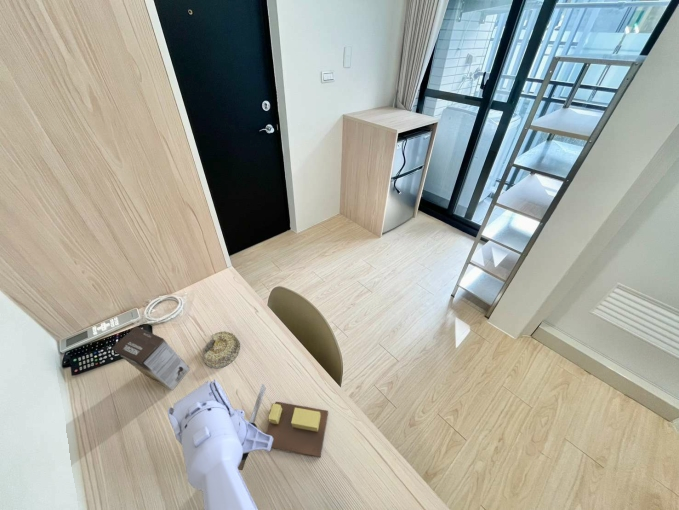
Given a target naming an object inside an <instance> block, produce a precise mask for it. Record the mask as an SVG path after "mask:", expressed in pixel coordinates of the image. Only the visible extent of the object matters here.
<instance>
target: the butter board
mask: <svg viewBox="0 0 679 510" xmlns="http://www.w3.org/2000/svg"><path fill="white" fill-rule="evenodd" d="M274 404H278V405H281V408H282V412H281V416H280V419H279V423H278V424H274V423H271V422H270V421H269V423H268V425H267V430H266V433H265V434H267V435H270V436H272V437H273V442H272V446H271V449H275V450H280V451H285V452H290V453H295V454H300V455H305V456H309V457H310V456H311V457H316V458H321V457H322V452H323V445H324V440H325V435H326V428H327V423H328V416H329V410H326V409H320V408H314V407H309V406H303V405H297V404H292V403H288V402H287V403H286V402H281V401H275V403H274ZM295 408H300V409H306V410H312V411H317V412H320V415H321V417H320V423H319V428H318V432H317V431H311V430H306V429H301V428H295V427H293V426H292V424H291V421H292V417H293V413H294V409H295Z"/></svg>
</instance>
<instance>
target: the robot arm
mask: <svg viewBox="0 0 679 510" xmlns="http://www.w3.org/2000/svg"><path fill="white" fill-rule="evenodd" d="M172 406H173V407H168V409H167V417H168V420H169V423H170V426H171V428H172V431H173V433H174V436H175V439H176V440H177V441H178V443H179V444H180V445H181V448H182V454H183V459H184V466H185V471H186V477H187V482H188V483H189V486H191V487H192V488H193V489H195V490H197V491H198V490H199V491H201V492H202V501H203V510H259V509H258V507H257V504H256V503H255V500H254V498H253V497H252V494H251V493H250V490H249V489H248V487H247V483H246V482H245V480H244V478H243V476H242V473H241V472H240V470H238V466H239V464H240V462H241V460H246V461H247V459H248V457H249V455H250V453H253V452H257V451H264V452H268V453H270V452H271V449H272V448H271V446H272V442H273V437H272V436H270V435H267V434H266V433H264V432H263V431H261V430H260V429H258V426H257V424H256V423H255V422H254V423H251V422H249V421H248V420H246V419H245V411H244V410H243V409H239V408H235V409H234V408H233V406H232V405H231V401H230V399H229V398H228V396H227V393H226V392H225V391H224V389H223V387H222V385H221V384H220V383H219V382H218V381H217V380H216V379H215V378H214V379H213V380H212V381H209V380H207V381H205V382H204V383H203V384H201V385H199V386H198V387H197V388H195V389H194V390H192V391H191V392H189V393H188V394H187V395H185V396H183V397H182V398H181V399H179V400H177V401H175V403H173V405H172Z"/></svg>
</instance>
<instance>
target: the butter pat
mask: <svg viewBox="0 0 679 510" xmlns="http://www.w3.org/2000/svg"><path fill="white" fill-rule="evenodd" d="M281 412H282V408H281V405H278V404H275V403H272V406H271V409H270V412H269V415H268V420H269V422H271V423H274V424H278V423H279V419H280V416H281Z"/></svg>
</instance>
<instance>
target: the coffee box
mask: <svg viewBox="0 0 679 510" xmlns="http://www.w3.org/2000/svg"><path fill="white" fill-rule="evenodd" d="M111 350H112V351H114V352H115V353H116V354H117V355H119V357H121V358H122V359H123V360H125V361H126V362H128V363H129V364H130V365H131V366H132V367H134V368H135V369H136V370H138V371H139V372H140V373H141V374H143V375H144V376H145V377H146V378H148V379H150V380H151V381H154V382H156V383H157V384H159V385H161V386H163V387H165V388H167V389H169V390H170V391H173V390H174V389H175V388H176V387H177V386H178V385H179V383H180V382H181V381H182V380H183V378H184V377H185V376H186V375H187V374H188V373H189V371H190V370H191V368H190V366H188V364H187V363H186V362H185V361H184V360H183V359H182V358H181V356H180V355H179V354H178V353H177V352H176V351H175V349H173V347H172V346H171V344H169V343H168V342H167V341H166V339H165V338H163V337H161V336H159V335H156V334H154V333H152V332H151V331H148V330H145V329H143V328H141V327H139V326H135V327H134V328H132V329H131V330H130V331H129V332H128V333H127V334H125V336H123V337H122V338H121V339H119V341H118V342H117V343H115V344H114V346H113V347H112V348H111Z"/></svg>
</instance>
